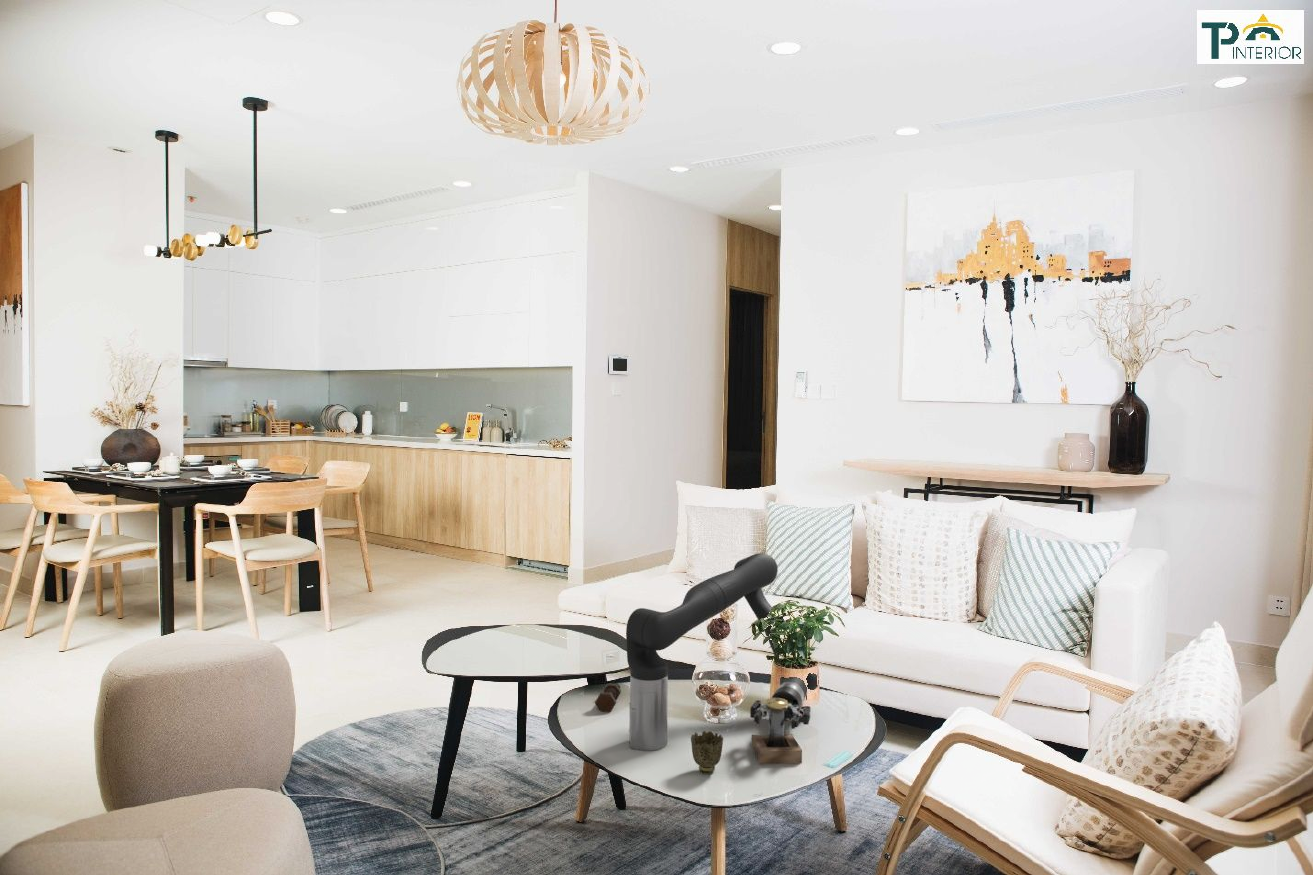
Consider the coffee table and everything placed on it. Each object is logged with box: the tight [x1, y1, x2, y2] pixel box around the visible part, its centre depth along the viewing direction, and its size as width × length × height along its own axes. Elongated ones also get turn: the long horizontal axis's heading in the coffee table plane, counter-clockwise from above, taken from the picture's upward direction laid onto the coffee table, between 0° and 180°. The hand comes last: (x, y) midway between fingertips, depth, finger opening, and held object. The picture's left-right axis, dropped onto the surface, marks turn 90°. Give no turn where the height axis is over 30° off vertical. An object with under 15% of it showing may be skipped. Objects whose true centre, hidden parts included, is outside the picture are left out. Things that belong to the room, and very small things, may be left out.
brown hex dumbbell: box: [594, 682, 622, 713], centre depth 248 cm, size 6×5×15 cm
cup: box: [690, 730, 724, 774], centre depth 202 cm, size 8×7×8 cm
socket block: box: [751, 733, 803, 765], centre depth 212 cm, size 10×10×3 cm
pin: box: [765, 697, 788, 747], centre depth 212 cm, size 5×5×13 cm
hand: (775, 722), depth 210 cm, fingers open, 8 cm apart
